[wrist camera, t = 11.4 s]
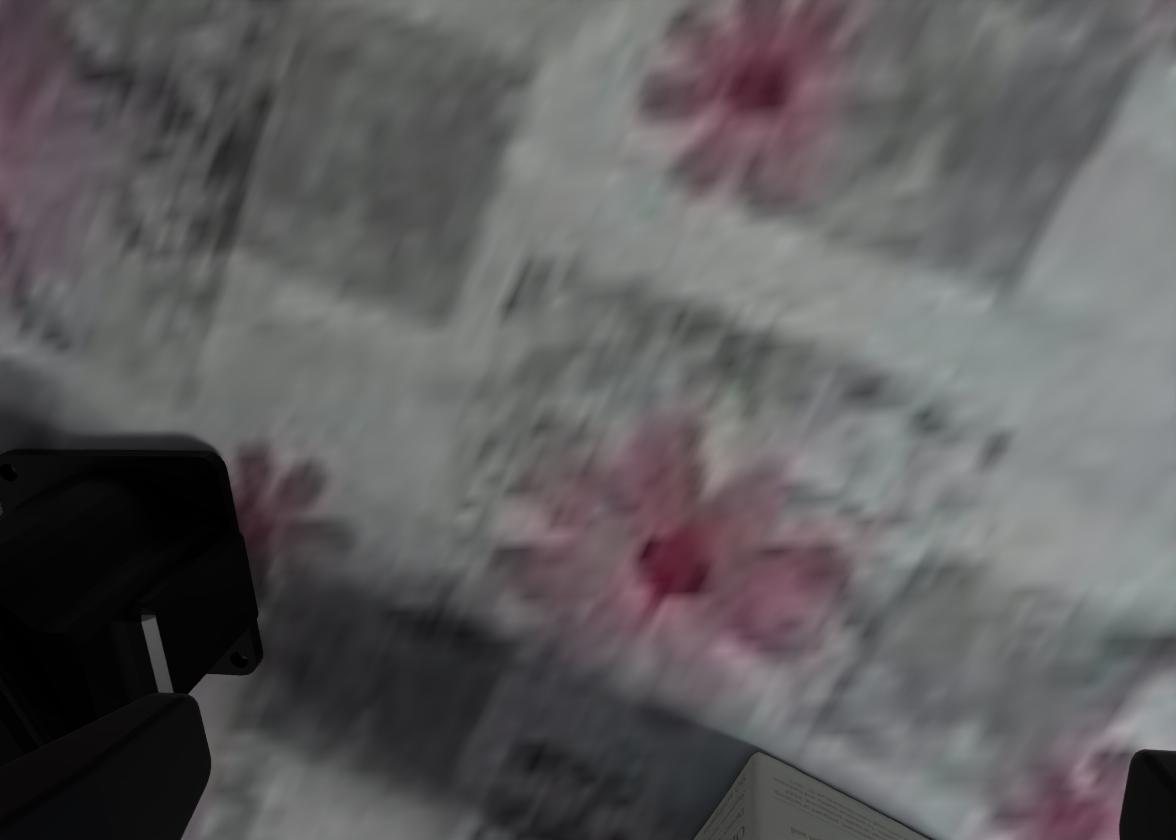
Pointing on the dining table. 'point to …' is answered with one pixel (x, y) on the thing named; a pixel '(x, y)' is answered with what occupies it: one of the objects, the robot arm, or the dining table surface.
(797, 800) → the supplement box
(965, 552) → the dining table surface
